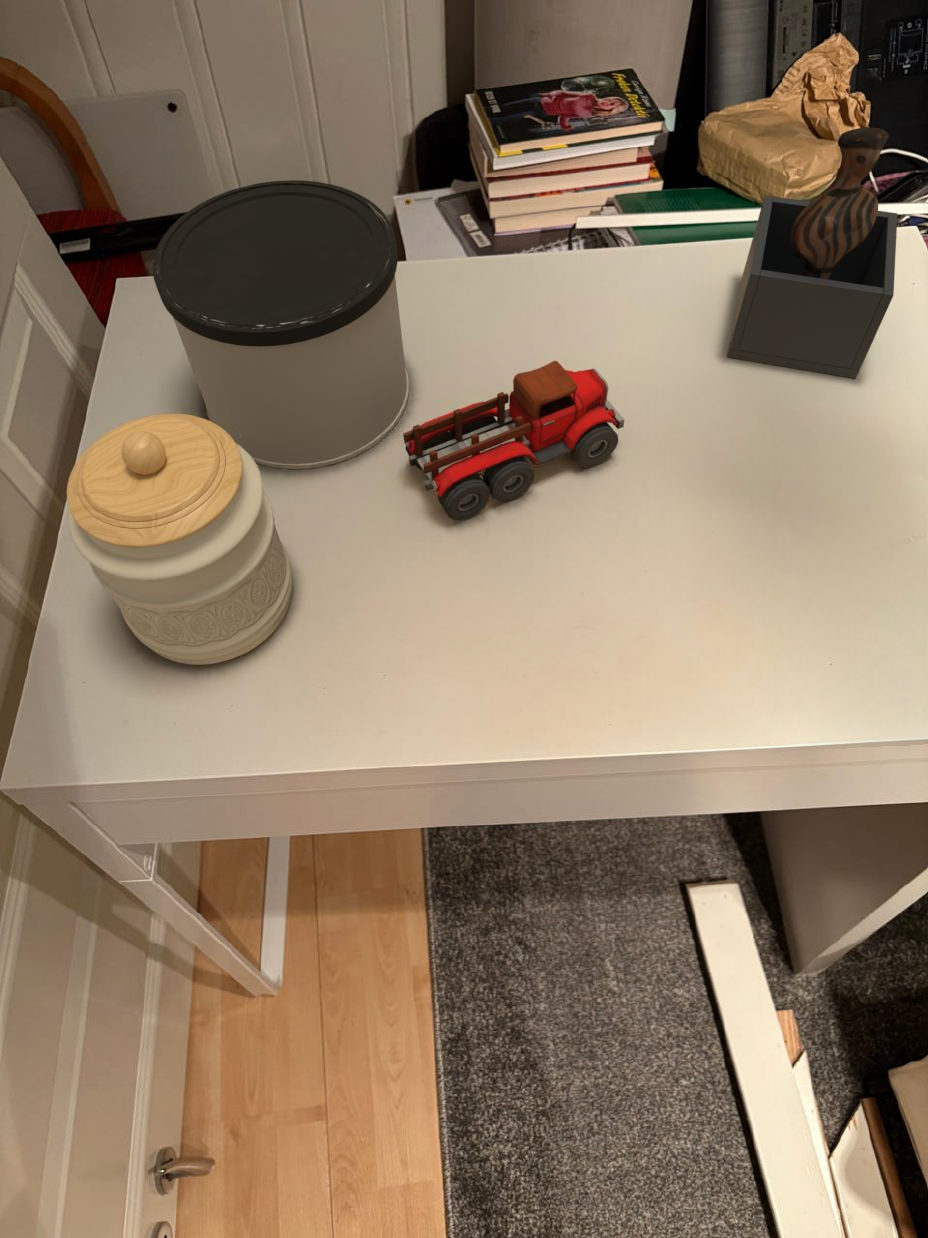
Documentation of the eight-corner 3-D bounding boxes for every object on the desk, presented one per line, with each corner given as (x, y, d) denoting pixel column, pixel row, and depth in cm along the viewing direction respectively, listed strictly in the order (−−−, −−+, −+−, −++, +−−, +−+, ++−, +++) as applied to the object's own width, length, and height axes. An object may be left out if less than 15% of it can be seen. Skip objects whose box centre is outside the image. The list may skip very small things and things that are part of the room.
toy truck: (626, 452, 76) (640, 380, 69) (440, 531, 72) (434, 462, 65) (579, 395, 80) (587, 321, 73) (399, 467, 76) (389, 396, 69)
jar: (119, 676, 66) (9, 529, 51) (140, 538, 73) (48, 373, 58) (293, 662, 66) (235, 512, 51) (298, 525, 73) (248, 358, 58)
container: (180, 463, 77) (118, 323, 64) (234, 320, 87) (190, 173, 74) (393, 478, 75) (373, 336, 63) (424, 330, 85) (412, 182, 73)
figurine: (773, 344, 81) (835, 152, 66) (751, 310, 84) (806, 117, 69) (847, 330, 82) (926, 136, 67) (823, 296, 85) (894, 103, 70)
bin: (861, 297, 86) (897, 212, 78) (855, 378, 80) (893, 295, 73) (741, 279, 88) (764, 194, 80) (726, 357, 82) (750, 273, 75)
